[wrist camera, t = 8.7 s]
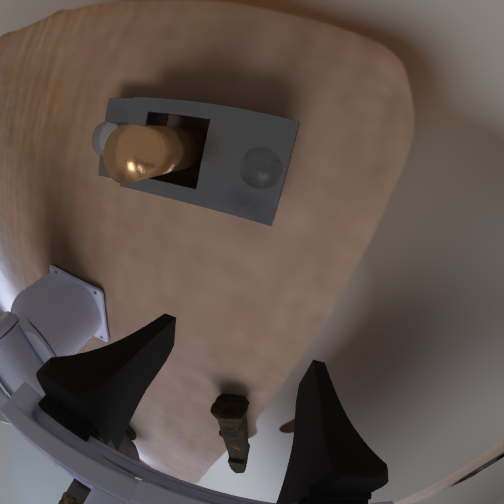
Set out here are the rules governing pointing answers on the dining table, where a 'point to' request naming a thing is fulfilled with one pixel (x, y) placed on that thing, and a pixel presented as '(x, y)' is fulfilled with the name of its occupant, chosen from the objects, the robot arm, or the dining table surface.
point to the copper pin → (151, 151)
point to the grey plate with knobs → (215, 155)
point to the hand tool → (233, 428)
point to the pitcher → (79, 492)
